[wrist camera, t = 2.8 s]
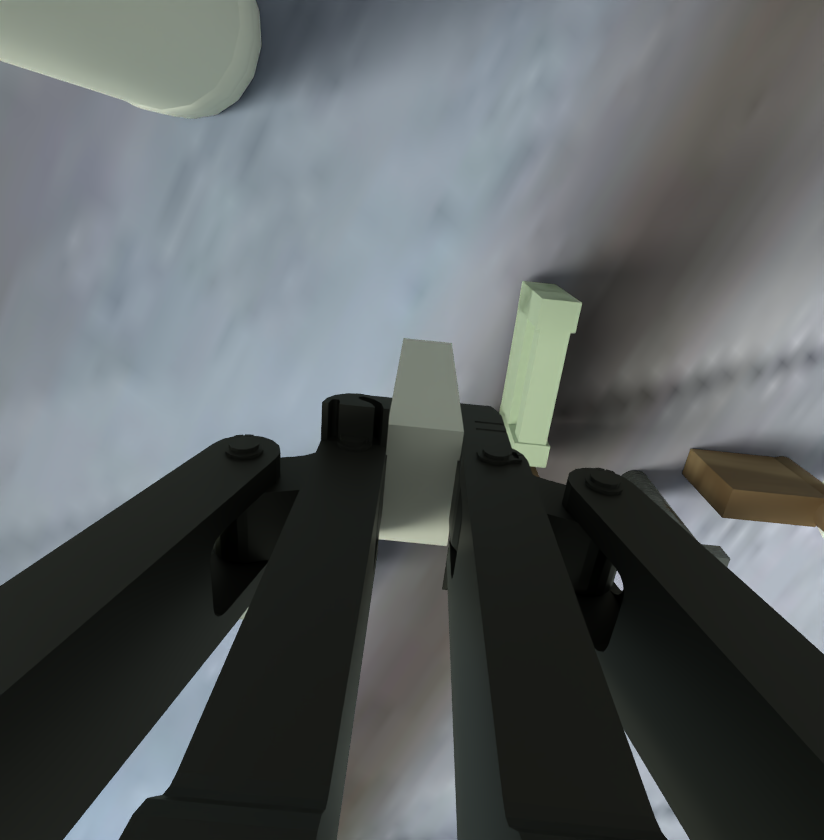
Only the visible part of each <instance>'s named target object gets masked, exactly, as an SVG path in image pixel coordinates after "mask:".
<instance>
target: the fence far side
mask: <svg viewBox="0 0 824 840" xmlns="http://www.w3.org/2000/svg"><path fill="white" fill-rule="evenodd" d="M682 474H683V475H684V476H685V478H686V479H687V480H688V481H689V482H690V483H691V484H692V485H693V486H694V487H695V488H696V490H697V491H698V492H699V493H700V494H701V495H702V496H703V497H704V498H705V499H706V500H707V502H708V503H709V504H710V505H711V506H712V507H713V508H714V509H715V510H716V511H717V512H718V514H719V515H720V516H721V517H722V518H731V519H741V520H751V521H761V522H771V523H781V524H791V525H801V526H811V527H816V526H817V527H819V528H820V529H821V530H822V531H823V532H824V483H822V482H821V481H820V480H818V479H817V478H815V477H814V476H813V475H811V474H810V473H809V472H807V471H806V470H804V469H803V468H802V467H800V466H799V465H798V464H796V463H795V462H793V461H792V460H791V459H789V458H787V457H783V456H779V457H775V458H774V457H769V456H759V455H749V454H739V453H730V452H720V451H710V450H700V449H690V452H689V455H688V458H687V461H686V464H685V467H684V470H683V472H682Z"/></svg>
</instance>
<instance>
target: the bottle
mask: <svg viewBox="0 0 824 840" xmlns="http://www.w3.org/2000/svg"><path fill="white" fill-rule="evenodd" d="M261 46H262V44H261V28H260V13H259V9H258V6H257V3H256V0H0V61H3V62H6V63H9V64H12V65H16V66H19V67H22V68H25V69H28V70H31V71H34V72H37V73H40V74H44V75H47V76H50V77H53V78H56V79H59V80H62V81H65V82H69V83H72V84H75V85H78V86H81V87H84V88H87V89H90V90H93V91H97V92H100V93H103V94H106V95H109V96H112V97H115V98H118V99H122V100H125V101H127V102H129V103H130V104H132V105H134V106H136V107H138V108H141V109H145V110H149V111H153V112H157V113H162V114H166V115H170V116H174V117H183V118H187V119H196V118H202V117H208V116H214V115H217V114H219V113H220V112H222V111H223V110H225V109H226V108H228V107H229V106H231V105H232V104H234V103H235V102H237V101H238V100H239V99H240V97H241V96H242V94H243V93H244V91H245V89H246V88H247V86H248V85H249V83H250V82H251V80H252V79H253V77H254V75H255V71H256V67H257V62H258V58H259V54H260V50H261Z"/></svg>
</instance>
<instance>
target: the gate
mask: <svg viewBox="0 0 824 840" xmlns="http://www.w3.org/2000/svg"><path fill="white" fill-rule="evenodd" d="M581 306H582V302H580V301H579V300H577V299H576V298H574V297H573V296H571V295H570V294H569V293H567V292H566V291H564V290H563V289H561V288H560V287H558V286H557V285H555V284H547V283H537V282H527V281H522V287H521V292H520V298H519V304H518V312H517V317H516V323H515V329H514V334H513V340H512V346H511V351H510V357H509V363H508V369H507V374H506V380H505V386H504V391H503V397H502V403H501V407H500V412H499V413H500V414H501V415H502V419H503V422H504V426H505V428H506V433H507V434H508V437H509V441H510V444H511V447H512V449H515V450H517V451H518V452H520V453H521V454H523V455H524V456H525V458H526V459H527V460H528V462H529V465H530V466H533V467H543V468H546V464H547V459H548V455H549V450H550V445H549V443H548V441H547V438H548V434H549V429H550V424H551V420H552V415H553V411H554V406H555V402H556V397H557V392H558V388H559V383H560V379H561V374H562V369H563V365H564V360H565V356H566V351H567V346H568V342H569V337H570V333H576V329H577V324H578V319H579V315H580V310H581Z"/></svg>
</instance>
